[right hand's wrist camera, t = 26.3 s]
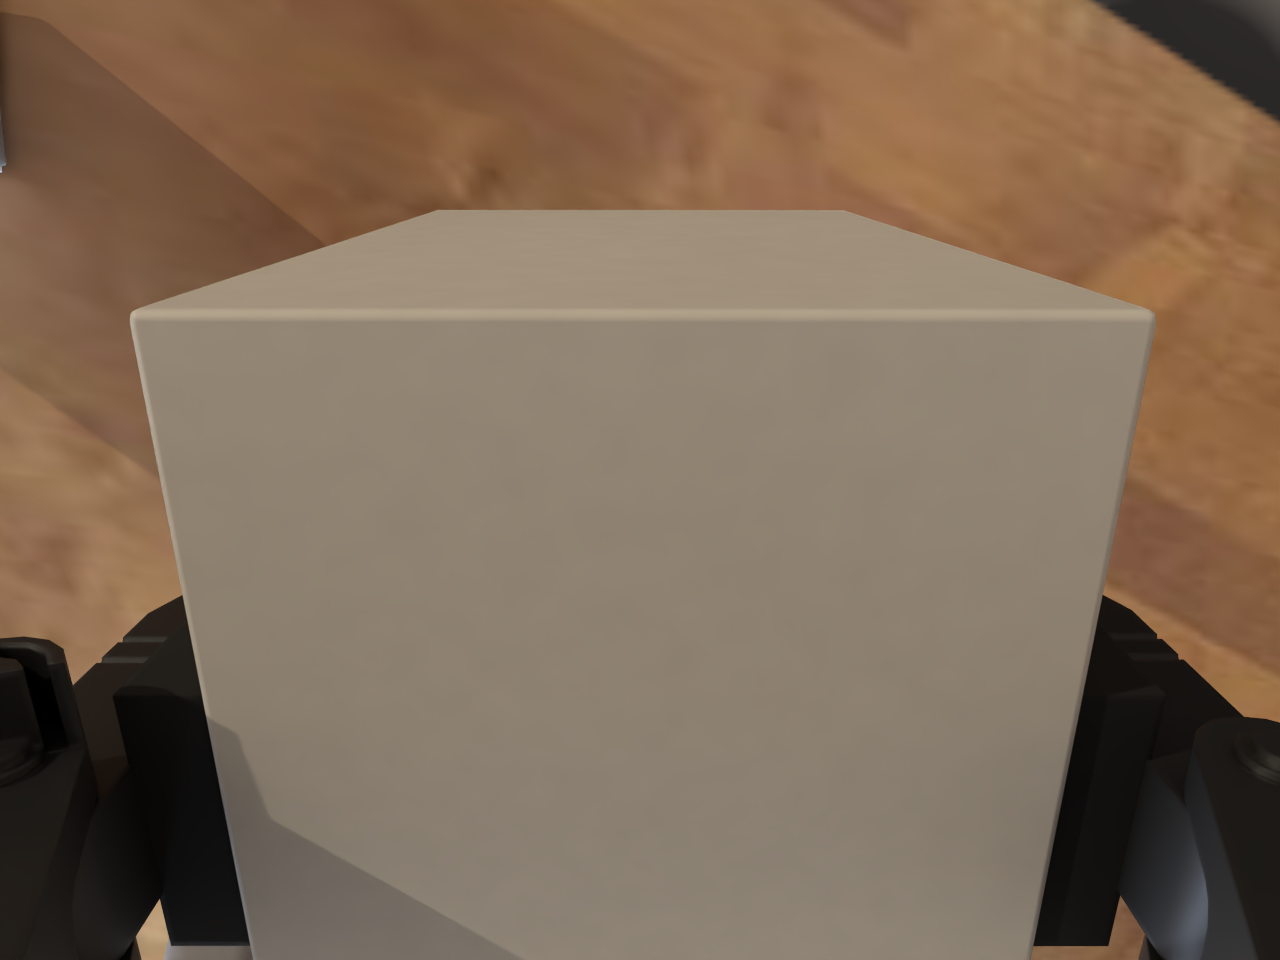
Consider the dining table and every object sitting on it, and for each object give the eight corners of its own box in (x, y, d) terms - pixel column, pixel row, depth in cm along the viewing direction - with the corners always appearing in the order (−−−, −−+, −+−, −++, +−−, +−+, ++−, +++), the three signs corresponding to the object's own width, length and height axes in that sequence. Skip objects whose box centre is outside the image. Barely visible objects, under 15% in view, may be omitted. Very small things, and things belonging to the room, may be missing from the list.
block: (847, 209, 16) (1163, 310, 6) (812, 663, 19) (988, 1191, 9) (434, 209, 16) (122, 309, 6) (467, 663, 19) (293, 1191, 9)
